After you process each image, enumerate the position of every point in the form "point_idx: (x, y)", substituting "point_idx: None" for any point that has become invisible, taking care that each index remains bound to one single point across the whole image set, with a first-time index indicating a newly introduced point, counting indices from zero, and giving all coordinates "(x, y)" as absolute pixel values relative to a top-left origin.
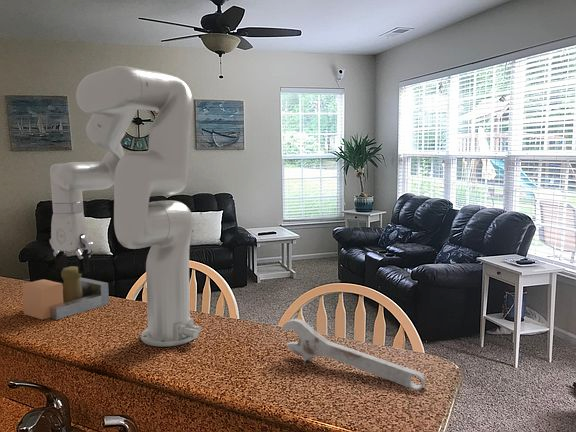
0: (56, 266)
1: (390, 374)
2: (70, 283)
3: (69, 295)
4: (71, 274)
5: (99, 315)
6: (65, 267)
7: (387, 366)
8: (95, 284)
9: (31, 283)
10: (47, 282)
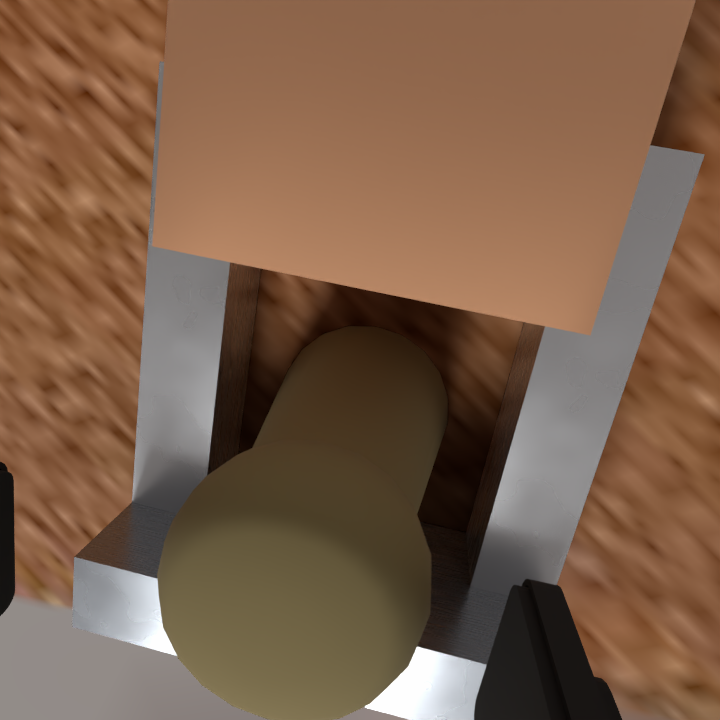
0: (547, 622)
1: None
2: (269, 438)
3: (306, 377)
4: (195, 488)
5: (31, 294)
6: (482, 702)
7: None
8: (147, 570)
9: (582, 58)
10: (386, 211)
